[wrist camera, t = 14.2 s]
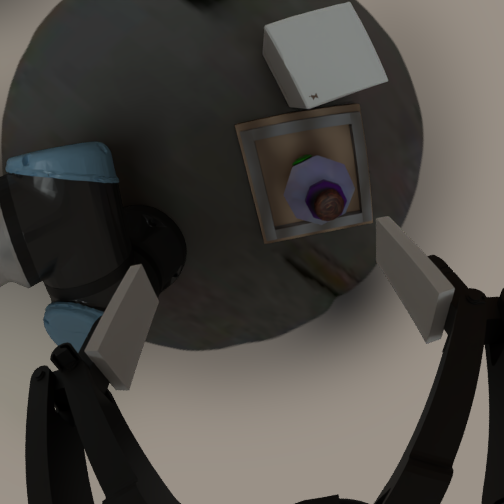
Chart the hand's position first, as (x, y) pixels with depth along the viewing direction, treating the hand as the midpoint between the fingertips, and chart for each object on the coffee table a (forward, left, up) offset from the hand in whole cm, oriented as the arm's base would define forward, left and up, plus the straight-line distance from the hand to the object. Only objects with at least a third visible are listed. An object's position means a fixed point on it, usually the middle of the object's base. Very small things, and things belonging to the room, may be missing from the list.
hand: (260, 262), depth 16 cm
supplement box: (+9, +12, -28) cm, 32 cm away
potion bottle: (+6, -4, -26) cm, 27 cm away
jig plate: (+7, -3, -28) cm, 29 cm away
